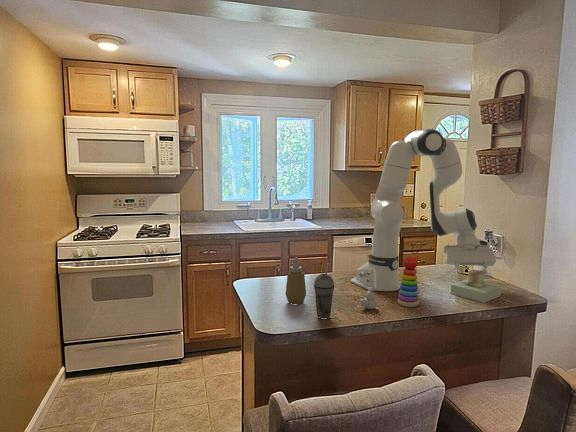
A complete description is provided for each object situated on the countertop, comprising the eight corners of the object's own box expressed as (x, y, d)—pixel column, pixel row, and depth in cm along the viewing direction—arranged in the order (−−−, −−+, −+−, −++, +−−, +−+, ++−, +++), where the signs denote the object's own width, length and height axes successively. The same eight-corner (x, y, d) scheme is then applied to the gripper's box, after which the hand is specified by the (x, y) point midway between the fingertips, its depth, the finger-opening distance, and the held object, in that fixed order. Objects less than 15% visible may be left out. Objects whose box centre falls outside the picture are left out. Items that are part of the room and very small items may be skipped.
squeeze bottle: (291, 308, 147) (291, 261, 145) (281, 301, 154) (281, 256, 152) (310, 304, 151) (310, 258, 148) (299, 298, 158) (300, 254, 156)
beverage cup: (314, 312, 143) (314, 258, 140) (334, 313, 142) (335, 259, 139) (312, 320, 135) (313, 264, 133) (333, 321, 134) (334, 264, 132)
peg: (467, 294, 164) (468, 271, 162) (472, 292, 166) (474, 269, 165) (477, 297, 160) (479, 273, 159) (483, 295, 163) (484, 271, 161)
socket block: (450, 293, 164) (451, 284, 164) (467, 287, 173) (468, 278, 172) (483, 302, 153) (484, 293, 153) (500, 295, 162) (501, 286, 161)
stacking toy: (420, 308, 147) (422, 259, 145) (398, 307, 149) (400, 258, 146) (417, 301, 155) (419, 255, 152) (396, 300, 156) (398, 254, 154)
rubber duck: (379, 310, 145) (380, 289, 144) (363, 312, 143) (363, 290, 142) (373, 305, 150) (374, 285, 149) (357, 306, 149) (357, 286, 148)
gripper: (444, 241, 174) (449, 268, 166) (493, 242, 171) (500, 270, 163) (441, 248, 179) (445, 275, 171) (489, 250, 176) (495, 277, 168)
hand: (472, 273), depth 167 cm, fingers open, 8 cm apart
